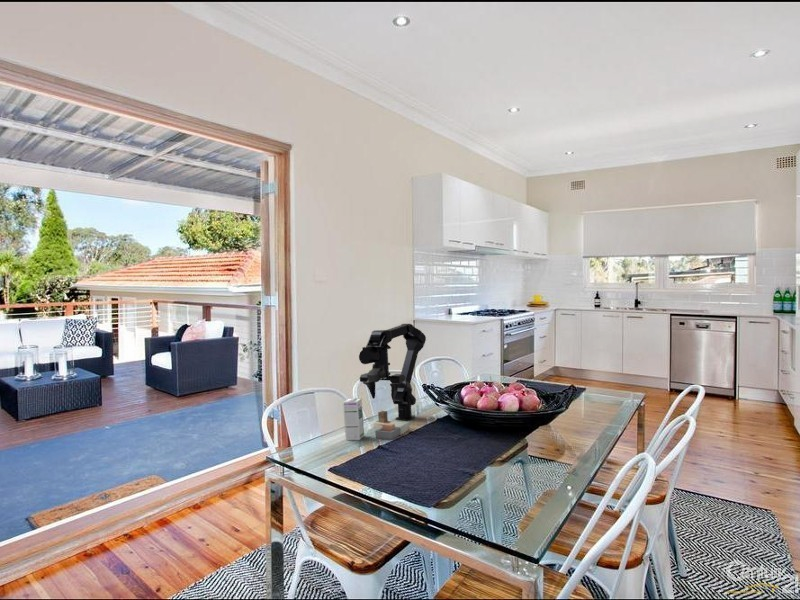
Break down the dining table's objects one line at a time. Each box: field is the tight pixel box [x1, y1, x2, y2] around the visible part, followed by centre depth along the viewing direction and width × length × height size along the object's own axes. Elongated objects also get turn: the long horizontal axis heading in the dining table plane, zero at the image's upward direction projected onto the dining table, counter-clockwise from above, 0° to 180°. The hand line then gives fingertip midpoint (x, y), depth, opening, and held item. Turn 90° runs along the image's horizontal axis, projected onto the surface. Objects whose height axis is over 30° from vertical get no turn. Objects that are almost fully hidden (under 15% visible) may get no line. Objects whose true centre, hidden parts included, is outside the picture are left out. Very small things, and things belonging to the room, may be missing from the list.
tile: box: [382, 423, 395, 432], centre depth 181 cm, size 4×4×2 cm
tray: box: [374, 427, 402, 441], centre depth 180 cm, size 7×7×3 cm
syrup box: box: [342, 397, 365, 441], centre depth 181 cm, size 6×6×14 cm
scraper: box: [372, 410, 394, 429], centre depth 196 cm, size 6×6×6 cm
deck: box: [390, 420, 410, 435], centre depth 186 cm, size 7×7×3 cm
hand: (383, 399), depth 196 cm, fingers open, 9 cm apart
